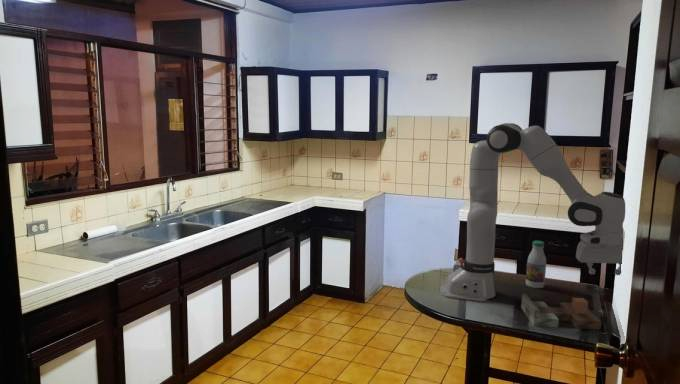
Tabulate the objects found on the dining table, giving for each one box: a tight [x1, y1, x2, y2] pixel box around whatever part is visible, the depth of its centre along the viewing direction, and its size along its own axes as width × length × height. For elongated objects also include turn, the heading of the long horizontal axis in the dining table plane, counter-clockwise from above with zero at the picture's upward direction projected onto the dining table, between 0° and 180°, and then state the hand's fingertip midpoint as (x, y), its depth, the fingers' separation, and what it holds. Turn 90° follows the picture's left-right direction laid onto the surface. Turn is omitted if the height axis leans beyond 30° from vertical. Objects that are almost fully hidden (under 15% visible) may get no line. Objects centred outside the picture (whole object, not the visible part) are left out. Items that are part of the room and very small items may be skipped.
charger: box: [452, 259, 461, 272], centre depth 232 cm, size 5×9×15 cm
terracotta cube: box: [571, 297, 589, 314], centre depth 178 cm, size 4×4×4 cm
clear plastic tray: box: [520, 293, 602, 330], centre depth 179 cm, size 23×16×6 cm
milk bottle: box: [525, 240, 547, 289], centre depth 211 cm, size 8×8×20 cm
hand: (604, 274), depth 176 cm, fingers open, 8 cm apart
